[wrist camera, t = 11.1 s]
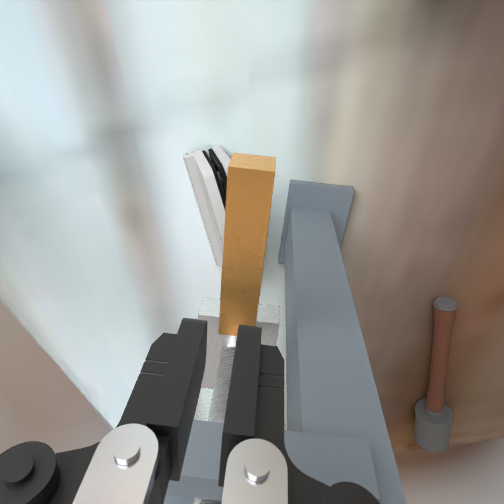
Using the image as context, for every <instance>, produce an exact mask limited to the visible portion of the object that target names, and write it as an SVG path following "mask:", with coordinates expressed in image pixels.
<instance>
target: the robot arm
mask: <svg viewBox="0 0 504 504" xmlns="http://www.w3.org/2000/svg"><path fill="white" fill-rule="evenodd" d="M261 335H262V327H257V326H249V325H240V324H239V327H238V333H237V340H236V346H235V353H234V360H233V366H232V373H231V379H230V386H229V392H228V399H227V406H226V412H225V419H224V425H223V432H222V444H221V457H220V469H219V482H218V486H220V487H224V488H223V495H222V503H221V504H380V503H379V501H378V500H377V499H376V498H375V497H374V495H373V494H372V493H371V492H369V491H368V490H367V489H365V488H364V487H362V486H360V485H359V484H356V483H353V482H347V481H345V482H338V483H335V484H333V485H331V486H328V485H326V484H324V483H322V482H320V481H318V480H316V479H314V478H312V477H310V476H308V475H306V474H304V473H303V472H302V471H300V470H299V469H298V468H297V467H296V466H295V465H294V464H293V462H292V461H291V459H290V458H289V456H288V454H287V451H286V448H285V443H284V359H283V357H282V355H281V353H280V351H279V349H278V347H277V346H270V345H262V344H261ZM206 353H207V321H206V320H198V319H190V318H183V320H182V322H181V325H180V328H179V331H178V334H169V333H163V334H162V335H161V336H160V337H159V338H158V339H157V340H156V341H155V342H154V343H153V344H152V345H151V348H150V350H149V352H148V355H147V357H146V361H145V362H144V364H143V367H142V369H141V373H140V374H139V376H138V379H137V381H136V384H135V386H134V389H133V391H132V393H131V396H130V398H129V401H128V403H127V405H126V408H125V410H124V413H123V415H122V417H121V420H120V422H119V424H118V425H117V427H116V428H115V429H113V430H112V431H110V432H109V433H108V434H107V435H106V436H105V437H104V438H103V439H102V440H101V441H100V442H98V443H96V444H94V445H92V446H89V447H85V448H81V449H76V450H71V451H66V452H61V453H56V454H55V453H54V451H53V450H52V448H51V447H49V446H48V445H47V444H45V443H42V442H36V441H32V442H25V443H21V444H18V445H16V446H14V447H11V448H10V449H8V450H6V451H5V452H3V453H2V454H0V504H163V503H164V499H165V495H166V491H167V488H168V484H169V480H172V481H179V480H180V476H181V471H182V467H183V463H184V458H185V454H186V450H187V445H188V441H189V437H190V432H191V428H192V424H193V419H194V415H195V411H196V406H197V402H198V397H199V393H200V389H201V384H202V380H203V376H204V371H205V364H206Z"/></svg>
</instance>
